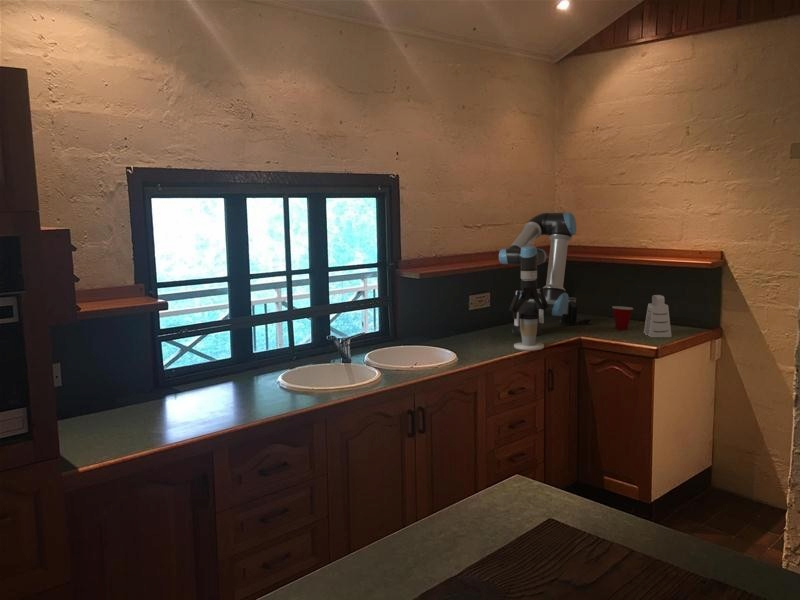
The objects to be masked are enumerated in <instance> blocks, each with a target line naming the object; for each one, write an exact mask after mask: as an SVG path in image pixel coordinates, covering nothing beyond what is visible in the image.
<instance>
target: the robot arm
mask: <svg viewBox="0 0 800 600" xmlns="http://www.w3.org/2000/svg"><path fill="white" fill-rule="evenodd" d="M576 234H577V221H576V218H575V215H574V214H573V213H571V212H543V213H539V214H537V215H536V216H534V217H532V218H531V219H529V220H528V221H527V222H526V223H525V224H524V226H523V229H522V231H521V232H520V233H519V234H518V236H517V237H516V239H515V240H514V241H513V242H512V243H511V244H510V246H509V247H508V248H501V249H500V250H499V253H498V261H499V263H500V264H502V265H508V266H509V265H520V279H521V280H520V290H514V296H513V299H512V300H511V304H510V306H509V309H508V310H509V311H510V312H512V319H514V321H513V322H514V323H513V326H512V329H511V332H512V333H511V334H512V335H514V336H520V337H522V336H521V329H520V318H519V316H520V313H525V312H533V313H537V315H538V316H539V318H538V322H537V323H538V325H537V335H536V336H539V335H542V331H543V330H542V327H541V324H544V321H545V320H544V319H545V318H544V317H545V316H554V317H555V316H558V317H560V316H561V315H563V314H564V313H565V312H566V310H567V307H568V302H569V300H568V299H569V297H570V296H569V293H567V292H566V289H565V288H564V282H565V280H564V279H565V273H566V272H565V271H566V264H567V256H568V245H569V242H570V241H571V240H572V238H573V237H572V236H575V235H576ZM540 236H548V239H549V240H550V246H549V247H550V248H549V254H548V255H549V256H547V253H546V251H545V250H544V249H541V248H537V246H533V245H532V246H531V244H532V243H533V242H534V241H535V239H538V238H539V237H540ZM547 257H548V265H547V274H546V283H545V284H546V285H544V286H543V287H542V288H538V280H537V279H538V266H539V265H542V264H543V263H545V262H546V260H547Z"/></svg>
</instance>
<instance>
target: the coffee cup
mask: <svg viewBox="0 0 800 600" xmlns="http://www.w3.org/2000/svg"><path fill="white" fill-rule="evenodd" d="M519 318H520V329H521V336H520V337H521V342H522V345H524V346H534V345H535V342H536V339H537V336H538V335H537V325H538V323H537V322H538V320H539V315H537V313H533V312H525V313H520V316H519Z"/></svg>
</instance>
